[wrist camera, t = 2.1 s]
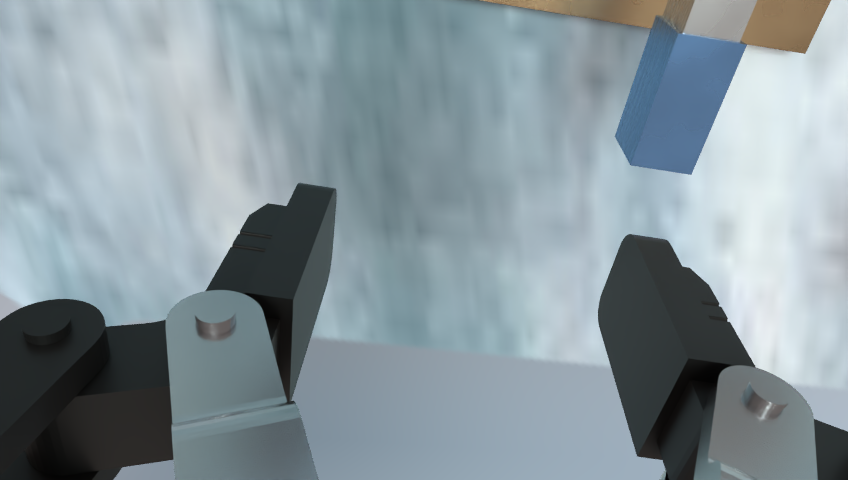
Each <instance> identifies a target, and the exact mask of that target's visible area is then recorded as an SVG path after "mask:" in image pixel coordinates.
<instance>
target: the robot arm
mask: <svg viewBox="0 0 848 480" xmlns="http://www.w3.org/2000/svg"><path fill="white" fill-rule="evenodd" d="M335 211H336V189H335V188H329V187H322V186H315V185H309V184H302V183H298V184H297V186H296V188H295V190H294V192H293V194H292V197H291V199H290V201H289V203H288V205H287V206H282V205H275V204H266V205H265V206H263V207H261V208H260V209H258V210H257V211H255V212H254V213H252V214H251V215H249V217H248V218H247V220H246V222H245V224H244V225H243V227H242V229H241V231H240V234H238V236H237V237H236V239H235V241H234V243H233V246H232V247H231V248H230V250H229V251H228V253H227V255H226V257H225V258H224V260H223V262H222V263H221V265H220V267H219V269H218V270H217V272H216V274H215V276H214V277H213V279H212V281H211V282H210V284H209V286H208V288H207V289H206V291H205V292H200V293H197V294H194V295H191V296H189V297H187V298H185V299H183V300H181V301H180V302H179V303H177V304H176V305H175V306H174V307H173V308H172V309H171V310H170V312H169V314H168V315H167V318H166V320H163V321H158V322H153V323H146V324H134V325H121V326H109V327H106V325H105V320H104V317H103V315H102V313H101V312H100V311H99V310H98V309H97V308H96V307H94V306H93V305H91V304H89V303H86V302H83V301H78V300H71V299H55V300H47V301H42V302H37V303H34V304H31V305H28V306H25V307H23V308H20V309H18V310H16V311H14V312H13V313H11V314H9V315H8V316H6V317H5V318H3V319H2V320H1V321H0V480H113V479H114V478H115V477H116V475H117V474H118V473H119V471H120V470H121V468H122V467H126V466H133V465H140V464H147V463H153V462H160V461H167V460H174V472H175V480H318V476H317V472H316V469H315V466H314V462H313V458H312V454H311V451H310V447H309V444H308V440H307V437H306V433H305V429H304V426H303V422H302V419H301V415H300V412H299V409H298V407H297V405H296V403H295V402H294V401H291V400H292V396H293V393H294V390H295V387H296V383H297V380H298V377H299V374H300V370H301V367H302V364H303V360H304V357H305V354H306V351H307V348H308V344H309V341H310V338H311V335H312V331H313V328H314V325H315V321H316V318H317V315H318V312H319V308H320V305H321V302H322V299H323V295H324V292H325V289H326V286H327V282H328V278H329V273H330V267H331V260H332V249H333V237H334V224H335ZM727 319H728V318H727V316H726V314H725V313H724V311H723V309H722V307H719V302H718V300H717V299H716V297H715V295H714V293H713V292H712V290H711V288H710V286H709V285H708V284H707V283H706V282H705V281H704V280H702V279H701V278H700V277H699V276H698V275H697V274H696V273H695V272H694V271H692V270H691V269H690V268H687V267H682V265H681V263H680V262H679V260H678V258H677V256H676V254H675V252H674V250H673V248H672V246H671V245H670V243H669V242H668V241H667V240H665V239H658V238H652V237H645V236H639V235H632V234H628V235H627V236H626V237H625V238H624V239H623V241H622V243H621V245H620V248H619V250H618V253H617V255H616V258H615V261H614V263H613V266H612V268H611V271H610V274H609V276H608V279H607V281H606V284H605V287H604V289H603V292H602V294H601V298H600V302H599V308H598V322H599V327H600V331H601V334H602V337H603V341H604V344H605V348H606V351H607V355H608V358H609V361H610V365H611V368H612V372H613V375H614V378H615V382H616V385H617V389H618V392H619V395H620V399H621V402H622V406H623V409H624V413H625V416H626V420H627V423H628V427H629V430H630V433H631V436H632V440H633V444H634V447H635V450H636V454H637V456H639V457H646V458H652V459H660V460H663V463H664V466H665V468H666V469H665V471H664V473H663V474H662V476H661V478H660V480H848V432H847V431H844V430H841V429H839V428H836V427H834V426H831V425H828V424H826V423H823V422H820V421H818V420H815V419H814V418H813V413H812V410H811V408H810V406H809V405H808V403H807V401H806V400H805V399H804V398H803V396H802V395H801V394H800V393H799V392H798V391H797V390H796V389H794V388H793V387H792V386H791V385H789V384H788V383H787V382H785V381H784V380H782V379H780V378H779V377H777V376H775V375H773V374H771V373H769V372H767V371H764V370H761V369H758V368H756V367H755V365H754V364H753V362H752V360H751V358H750V357H749V355H748V353H747V351H746V350H745V348H744V346H743V344H742V343H741V341H740V339H739V337H738V336H737V334H736V332H735V330H734V328H733V327H732V325H731V323H730V322H727Z"/></svg>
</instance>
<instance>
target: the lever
mask: <svg viewBox="0 0 848 480" xmlns="http://www.w3.org/2000/svg"><path fill="white" fill-rule="evenodd" d="M756 2H757V0H668V2H667V5H666V8H665V11H664V13H663V16H661V15H656V17H655V20H654V23H653V26H652V29H651V32H650V34H649V37H648V40H647V43H646V46H645V49H644V52H643V55H642V58H641V61H640V64H639V67H638V70H637V73H636V76H635V79H634V82H633V85H632V88H631V91H630V93H629V96H628V99H627V102H626V105H625V108H624V111H623V114H622V117H621V120H620V123H619V126H618V129H617V132H616V135H615V137H616V139H617V141H618V143H619V145H620V147H621V148H622V150H623V152H624V154H625V156H626V158H627V160H628V161H629V163H630V165H632V166H639V167H645V168H652V169H658V170H665V171H671V172H677V173H684V174H690V175H691V174H692V172H693V169H694V167H695V165H696V162H697V160H698V158H699V155H700V153H701V151H702V148H703V146H704V144H705V141H706V139H707V137H708V134H709V132H710V130H711V127H712V125H713V123H714V120H715V118H716V116H717V113H718V111H719V109H720V106H721V104H722V102H723V99H724V97H725V95H726V92H727V90H728V88H729V85H730V83H731V81H732V78H733V76H734V74H735V71H736V69H737V67H738V64H739V62H740V60H741V57H742V55H743V53H744V50H745V48H746V46H747V44H745V43H744V42H742V41H741V38H742V36H743V33H744V31H745V28H746V26H747V24H748V21H749V19H750V16H751V14H752V12H753V9H754V7H755V5H756Z"/></svg>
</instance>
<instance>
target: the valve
mask: <svg viewBox="0 0 848 480" xmlns="http://www.w3.org/2000/svg"><path fill="white" fill-rule="evenodd" d="M481 1H487V2H493V3H499V4H505V5H512V6H518V7H524V8H530V9H536V10H542V11H548V12H554V13H560V14H566V15H573V16H579V17H585V18H591V19H597V20H603V21H609V22H615V23H621V24H627V25H634V26H640V27H646V28H652V26H653V23H654V20H655V17H656V15H661V16H663V13H664V11H665V8H666V5H667V2H668V0H481ZM830 1H831V0H757V2H756V5H755V7H754V9H753V12H752V14H751V16H750V19H749V21H748V24H747V26H746V28H745V31H744V33H743V36H742V38H741V41H742V42H744V43H745V44H749V45H756V46H762V47H768V48H774V49H780V50H786V51H792V52H798V53H804V54H805V53H806V51H807V49H808V47H809V45H810V42H811V40H812V38H813V36H814V34H815V32H816V30H817V28H818V26H819V24H820V22H821V20H822V18H823V16H824V13H825V11H826V9H827V7H828V5H829V3H830Z"/></svg>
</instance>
